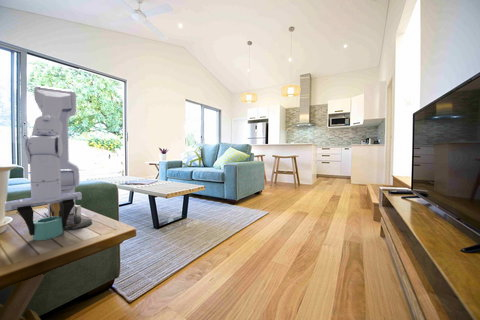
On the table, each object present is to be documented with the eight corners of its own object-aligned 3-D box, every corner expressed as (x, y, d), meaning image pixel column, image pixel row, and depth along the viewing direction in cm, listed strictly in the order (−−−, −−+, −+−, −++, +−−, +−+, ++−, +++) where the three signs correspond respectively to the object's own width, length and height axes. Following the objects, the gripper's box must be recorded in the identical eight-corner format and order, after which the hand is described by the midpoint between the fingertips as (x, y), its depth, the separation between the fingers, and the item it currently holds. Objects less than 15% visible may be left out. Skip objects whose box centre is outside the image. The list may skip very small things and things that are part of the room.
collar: (32, 236, 52) (31, 220, 52) (59, 229, 57) (58, 214, 56) (35, 242, 49) (35, 225, 49) (64, 234, 53) (63, 219, 53)
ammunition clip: (61, 227, 59) (60, 187, 58) (52, 229, 57) (51, 188, 57) (57, 218, 66) (56, 183, 65) (49, 219, 64) (48, 183, 64)
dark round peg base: (59, 225, 60) (58, 206, 59) (87, 219, 65) (87, 201, 65) (65, 231, 55) (65, 211, 55) (95, 224, 61) (94, 205, 61)
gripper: (5, 186, 44) (8, 245, 45) (84, 179, 56) (85, 225, 56) (2, 182, 48) (5, 236, 49) (77, 176, 60) (78, 220, 60)
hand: (48, 230), depth 53 cm, fingers closed on collar, 5 cm apart
